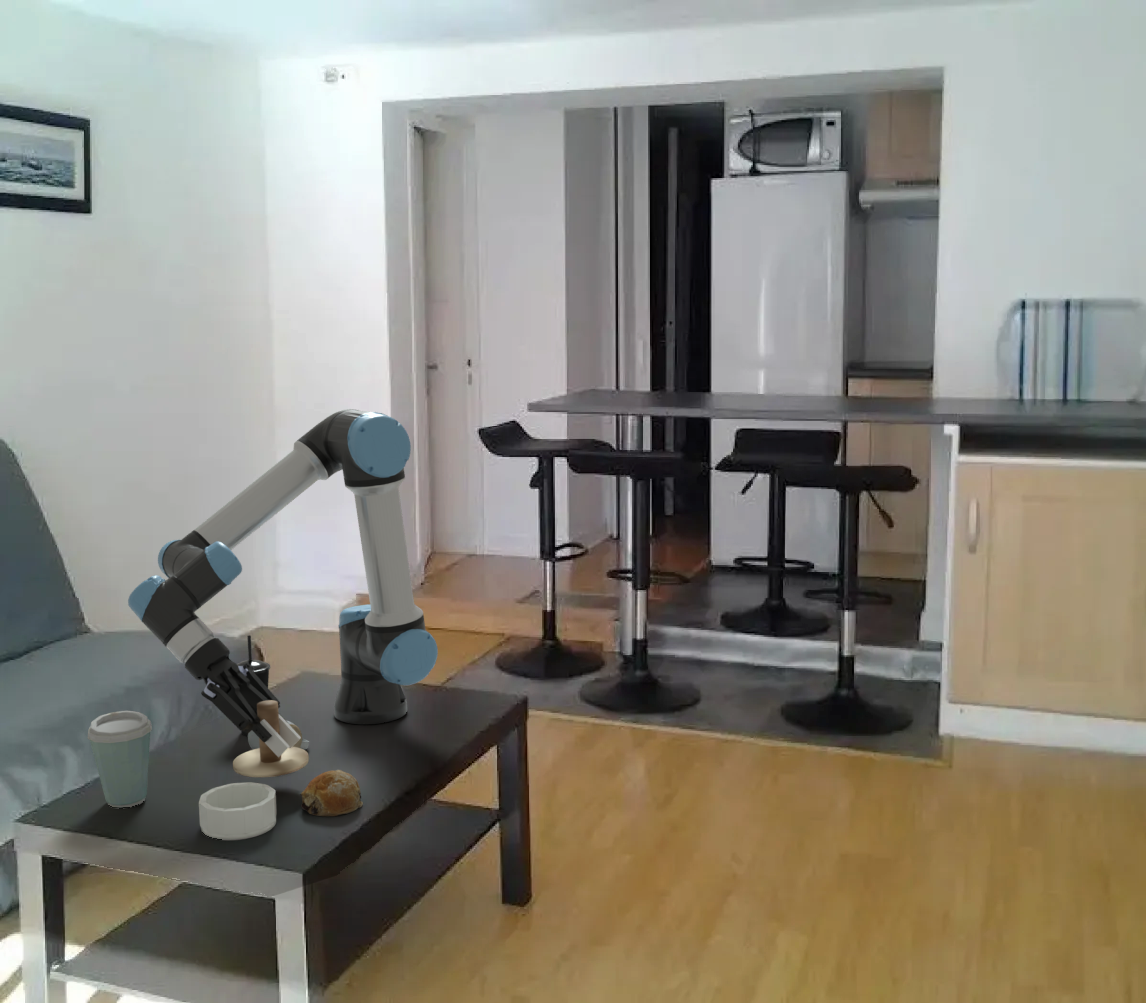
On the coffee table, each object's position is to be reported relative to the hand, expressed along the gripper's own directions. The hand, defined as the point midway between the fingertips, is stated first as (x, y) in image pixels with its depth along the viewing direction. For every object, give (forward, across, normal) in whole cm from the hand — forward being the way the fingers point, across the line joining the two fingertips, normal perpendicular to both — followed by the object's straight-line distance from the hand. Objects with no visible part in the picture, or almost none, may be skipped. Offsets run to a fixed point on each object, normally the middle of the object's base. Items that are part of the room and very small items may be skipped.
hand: (289, 747), depth 222 cm
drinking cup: (-10, -27, -22) cm, 36 cm away
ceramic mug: (-2, -17, -14) cm, 23 cm away
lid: (0, 0, -5) cm, 5 cm away
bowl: (+4, +15, -7) cm, 17 cm away
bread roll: (+13, +4, 0) cm, 14 cm away
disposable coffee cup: (-13, +11, -24) cm, 30 cm away
